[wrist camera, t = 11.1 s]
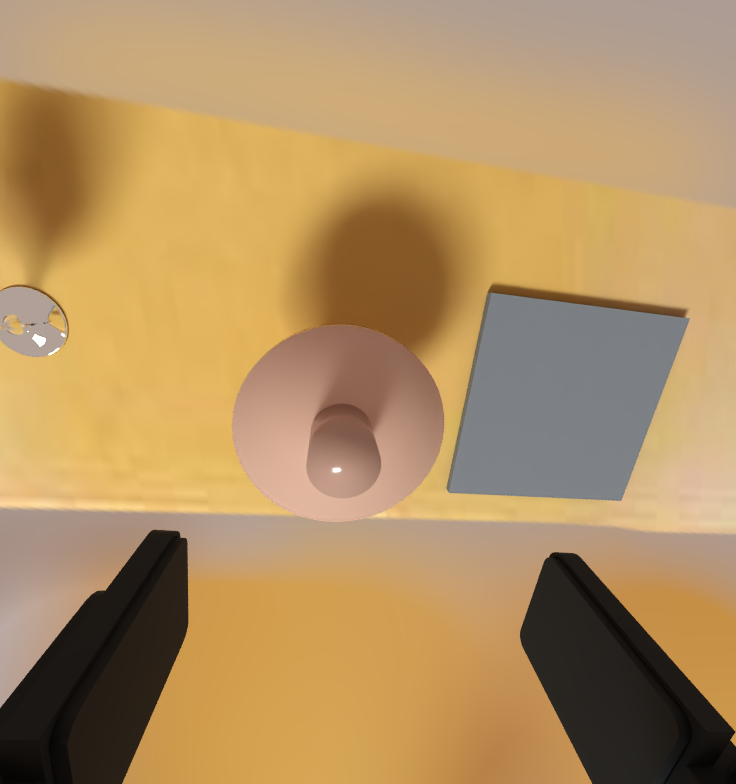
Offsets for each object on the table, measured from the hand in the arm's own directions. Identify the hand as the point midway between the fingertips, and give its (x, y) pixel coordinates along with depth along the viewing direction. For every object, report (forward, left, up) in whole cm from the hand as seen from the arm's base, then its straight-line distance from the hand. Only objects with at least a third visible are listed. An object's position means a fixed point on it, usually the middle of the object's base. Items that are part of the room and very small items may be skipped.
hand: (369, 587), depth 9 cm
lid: (0, 0, -11) cm, 11 cm away
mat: (-12, -13, -18) cm, 25 cm away
